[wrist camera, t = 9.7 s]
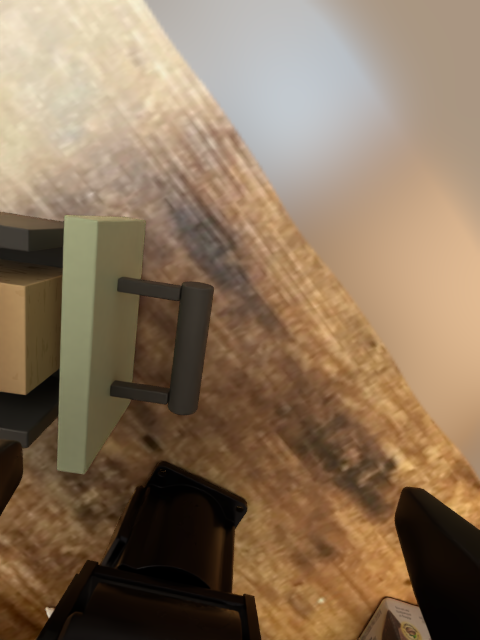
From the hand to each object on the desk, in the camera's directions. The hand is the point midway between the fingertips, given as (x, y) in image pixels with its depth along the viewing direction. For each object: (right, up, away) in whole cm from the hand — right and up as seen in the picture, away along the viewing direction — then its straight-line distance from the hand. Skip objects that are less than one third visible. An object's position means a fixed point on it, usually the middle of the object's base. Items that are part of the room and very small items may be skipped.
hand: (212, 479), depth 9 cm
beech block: (-10, +4, +10) cm, 15 cm away
